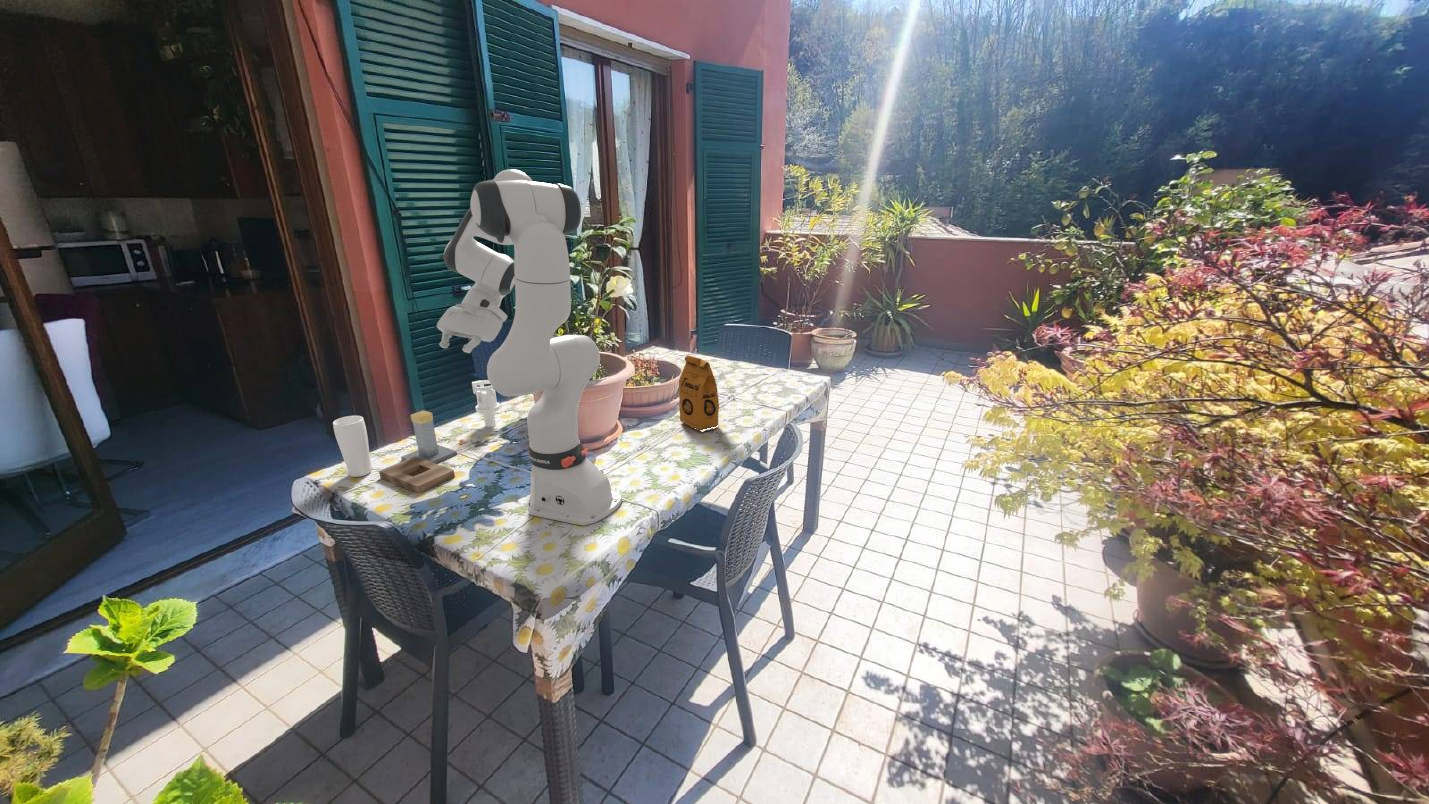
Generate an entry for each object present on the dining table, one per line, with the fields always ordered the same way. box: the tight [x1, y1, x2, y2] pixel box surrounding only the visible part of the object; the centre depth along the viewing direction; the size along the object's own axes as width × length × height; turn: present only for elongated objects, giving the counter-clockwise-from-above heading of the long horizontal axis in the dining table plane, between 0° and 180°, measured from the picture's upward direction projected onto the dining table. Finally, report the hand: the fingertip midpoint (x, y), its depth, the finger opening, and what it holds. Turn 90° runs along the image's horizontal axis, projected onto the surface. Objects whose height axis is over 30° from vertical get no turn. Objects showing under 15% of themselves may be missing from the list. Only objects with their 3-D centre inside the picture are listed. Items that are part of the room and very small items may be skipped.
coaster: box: [400, 444, 458, 464], centre depth 157 cm, size 10×10×1 cm
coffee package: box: [678, 354, 720, 431], centre depth 175 cm, size 10×12×22 cm
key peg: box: [410, 410, 439, 458], centre depth 155 cm, size 4×4×12 cm
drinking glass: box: [332, 415, 373, 478], centre depth 146 cm, size 7×7×15 cm
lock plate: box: [378, 456, 456, 494], centre depth 146 cm, size 16×10×2 cm, turn 60°
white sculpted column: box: [471, 379, 501, 428], centre depth 176 cm, size 7×7×15 cm
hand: (454, 349), depth 152 cm, fingers open, 8 cm apart
